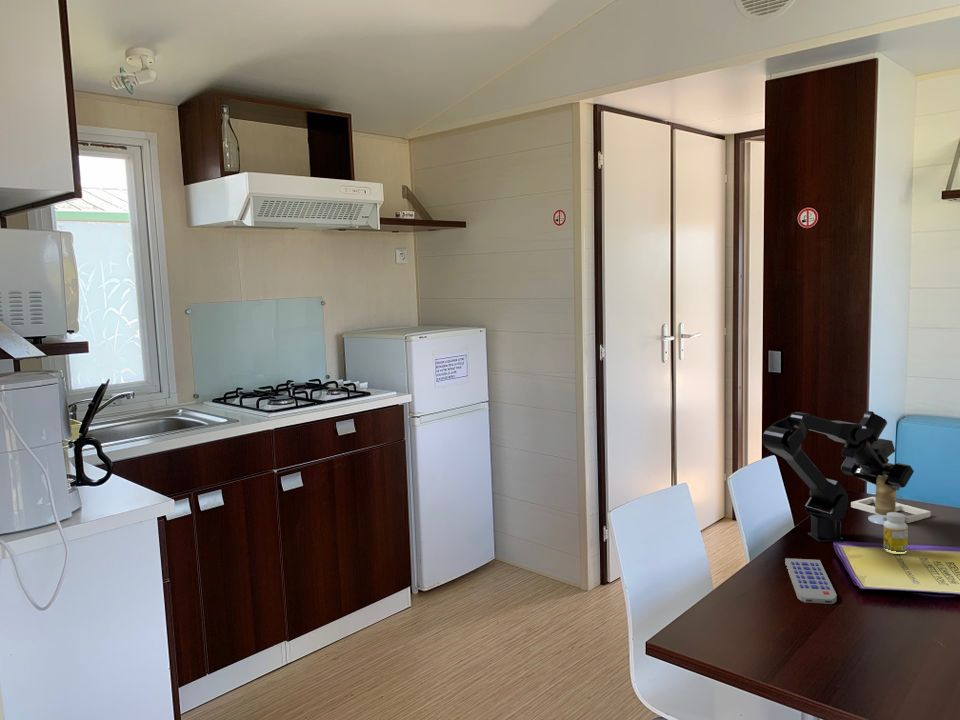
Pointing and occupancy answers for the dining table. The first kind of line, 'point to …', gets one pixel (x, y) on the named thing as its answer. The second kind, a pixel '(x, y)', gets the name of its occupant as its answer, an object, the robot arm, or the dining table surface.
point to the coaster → (878, 519)
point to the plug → (884, 496)
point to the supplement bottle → (895, 532)
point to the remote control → (810, 581)
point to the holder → (916, 512)
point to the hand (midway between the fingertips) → (889, 487)
